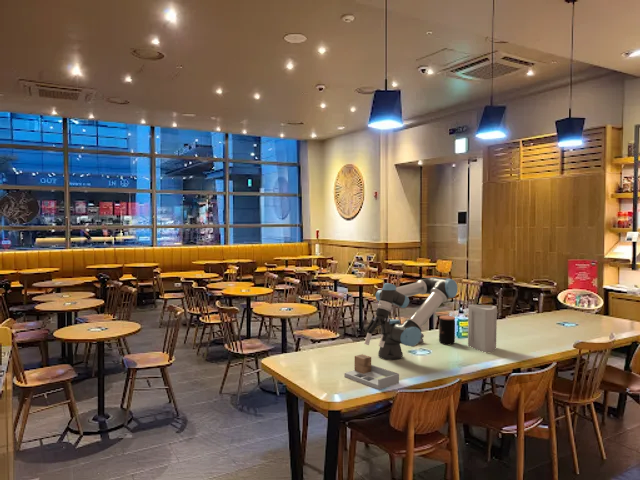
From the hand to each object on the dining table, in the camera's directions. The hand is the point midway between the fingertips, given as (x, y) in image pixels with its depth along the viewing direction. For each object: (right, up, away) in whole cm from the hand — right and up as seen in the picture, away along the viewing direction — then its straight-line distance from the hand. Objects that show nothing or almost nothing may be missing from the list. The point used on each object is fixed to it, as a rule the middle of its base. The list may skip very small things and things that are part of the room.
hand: (373, 345), depth 261 cm
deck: (-3, -15, -14) cm, 21 cm away
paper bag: (+81, -13, +49) cm, 95 cm away
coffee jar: (+59, -13, +63) cm, 87 cm away
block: (-7, -13, -6) cm, 15 cm away
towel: (+32, -13, +67) cm, 75 cm away
